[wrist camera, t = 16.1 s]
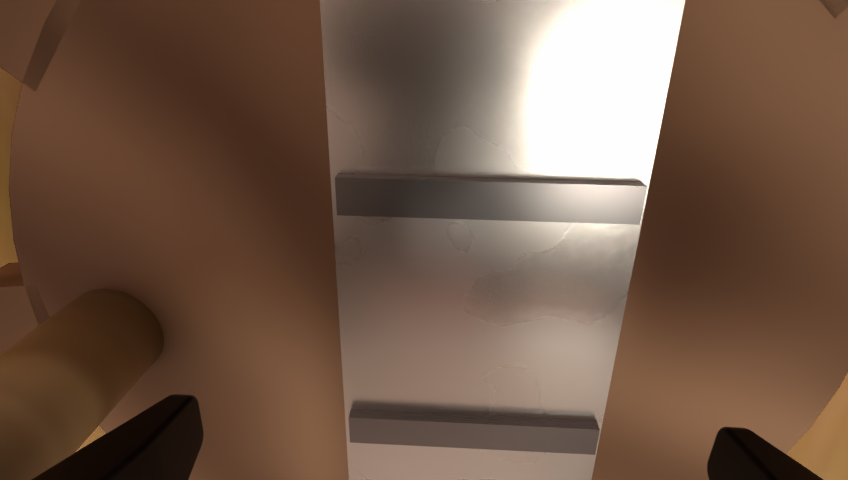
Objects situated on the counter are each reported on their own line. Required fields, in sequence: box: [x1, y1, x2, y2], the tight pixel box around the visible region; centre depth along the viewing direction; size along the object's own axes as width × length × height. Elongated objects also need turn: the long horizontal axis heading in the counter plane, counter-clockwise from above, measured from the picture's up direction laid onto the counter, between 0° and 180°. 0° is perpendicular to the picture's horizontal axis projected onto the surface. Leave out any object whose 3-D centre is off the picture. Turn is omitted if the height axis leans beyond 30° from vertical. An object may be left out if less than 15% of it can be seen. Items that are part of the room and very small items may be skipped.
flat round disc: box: [0, 0, 848, 480], centre depth 10 cm, size 23×23×6 cm
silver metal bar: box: [320, 0, 685, 480], centre depth 10 cm, size 4×16×4 cm, turn 179°
